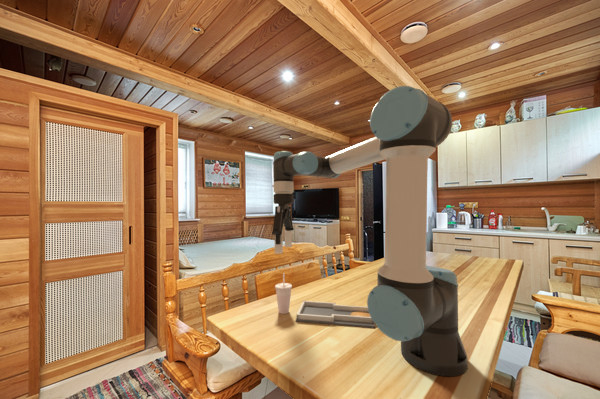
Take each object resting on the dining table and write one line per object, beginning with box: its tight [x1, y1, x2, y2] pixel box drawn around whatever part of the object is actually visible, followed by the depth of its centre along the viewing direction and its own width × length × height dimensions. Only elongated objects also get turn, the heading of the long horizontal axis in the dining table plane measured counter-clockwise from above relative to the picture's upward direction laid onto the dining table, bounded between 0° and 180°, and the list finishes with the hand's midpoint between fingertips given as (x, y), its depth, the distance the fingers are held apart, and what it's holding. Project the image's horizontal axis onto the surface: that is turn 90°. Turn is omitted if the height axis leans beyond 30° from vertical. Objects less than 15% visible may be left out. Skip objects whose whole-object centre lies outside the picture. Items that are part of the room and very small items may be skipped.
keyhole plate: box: [295, 300, 376, 329], centre depth 89 cm, size 14×26×2 cm, turn 79°
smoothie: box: [274, 272, 293, 315], centre depth 93 cm, size 6×6×14 cm
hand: (283, 250), depth 94 cm, fingers open, 13 cm apart
